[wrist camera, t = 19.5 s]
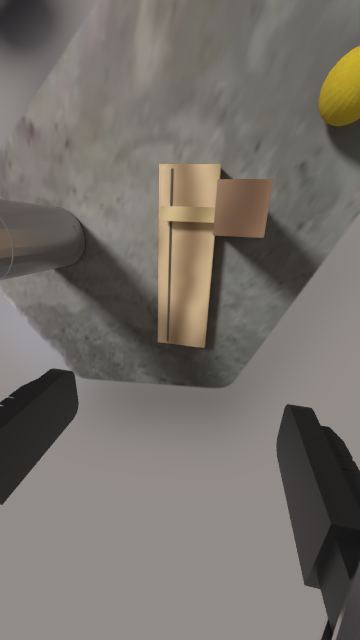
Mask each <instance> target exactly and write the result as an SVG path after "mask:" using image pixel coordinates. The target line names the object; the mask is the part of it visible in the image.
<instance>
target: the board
mask: <svg viewBox="0 0 360 640" xmlns="http://www.w3.org/2000/svg"><path fill="white" fill-rule="evenodd" d="M220 177H221V164H159V262H158V342H161V343H169V344H177V345H185V346H193V347H201V348H205V343H206V333H207V322H208V311H209V300H210V289H211V277H212V266H213V255H214V244H215V236H214V235H213V227H214V223H202V222H176V221H161V206H183V207H215V204H216V192H217V181H218V179H220Z"/></svg>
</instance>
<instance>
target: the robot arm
mask: <svg viewBox="0 0 360 640" xmlns="http://www.w3.org/2000/svg"><path fill="white" fill-rule="evenodd" d="M84 248H85V237H84V232H83V230H82V227H81V225H80V223H79V222H78V220H77V219H76V218H75V217H74V216H73V215H72V214H71V213H70V212H68V211H67V210H65V209H62V208H59V207H52V206H45V205H38V204H31V203H24V202H16V201H9V200H2V199H0V280H4V279H9V278H13V277H18V276H23V275H27V274H32V273H36V272H41V271H46V270H50V269H55V268H60V267H64V266H69V265H72V264H74V263H76V262H77V261H78V260H79V259H80V258H81V256H82V254H83V252H84ZM77 410H78V396H77V389H76V381H75V375H74V373H73V372H72V371H66V370H60V369H50V370H49V371H47V372H46V373H45V374H44V375H42V376H41V377H40V378H38V379H36V380H34V381H32V382H30V383H28V384H26V385H23V386H21V387H20V388H19V389H17V390H16V391H15V392H13V393H12V394H11V395H9V397H8V398H5V399H4V400H3V401H1V402H0V504H1V505H2V504H3V503H4V502H5V501H6V500H7V498H8V497H9V496H10V495H11V493H12V492H13V491H14V490H15V489H16V487H17V486H18V485H19V484H20V483H21V481H22V480H23V479H24V478H25V477H26V475H27V474H28V473H29V472H30V470H31V469H32V468H33V467H34V466H35V465H36V463H37V462H38V461H39V460H40V459H41V457H42V456H43V455H44V454H45V452H46V451H47V450H48V449H49V448H50V446H51V445H52V444H53V443H54V442H55V440H56V439H57V438H58V437H59V435H60V434H61V433H62V432H63V431H64V429H65V428H66V427H67V426H68V425H69V423H70V422H71V421H72V420H73V419H74V417H75V415H76V413H77ZM277 458H278V462H279V467H280V472H281V477H282V481H283V486H284V491H285V495H286V500H287V505H288V509H289V514H290V519H291V524H292V528H293V533H294V538H295V542H296V547H297V552H298V556H299V561H300V565H301V570H302V575H303V580H304V584H305V585H307V586H310V587H314V588H318V589H321V592H322V596H323V600H324V604H325V608H326V612H327V618H326V620H325V623H324V626H323V629H322V632H321V635H320V637H319V640H360V471H359V469H358V467H357V466H356V463H355V462H354V461H353V460H352V456H351V454H350V452H349V450H348V449H347V447H346V445H345V443H344V441H343V440H342V439H341V438H340V437H339V436H338V435H337V434H336V433H335V432H333V430H332V429H331V428H330V427H326V426H321V425H320V423H319V421H318V419H317V417H316V415H315V413H314V411H313V409H312V408H308V407H302V406H296V405H289V404H287V405H286V407H285V409H284V413H283V417H282V421H281V425H280V429H279V433H278V437H277Z"/></svg>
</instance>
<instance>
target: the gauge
mask: <svg viewBox="0 0 360 640" xmlns="http://www.w3.org/2000/svg"><path fill="white" fill-rule="evenodd" d="M272 184H273V180H267V179H218V181H217V192H216V204H215V207H183V206H161V221H176V222H202V223H214V227H213V235H214V236H235V237H256V238H264V234H265V228H266V221H267V215H268V209H269V203H270V196H271V190H272Z"/></svg>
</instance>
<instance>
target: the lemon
mask: <svg viewBox="0 0 360 640" xmlns="http://www.w3.org/2000/svg"><path fill="white" fill-rule="evenodd" d="M319 112H320V114H321V117H322V119H323V120H324V121H325V122H326V123H328V124H329V125H333V126H344V125H347V124H350V123H353V122H355V121H356V120H358V119H359V118H360V46H358V47H356V48H355V49H353V50H351V51H350V52H349V53H347V54H346V55H345V56H344V57H343V58H342V59H341V60H339V62H338V63H337V64H336V65H335V66H334V68H333V69H332V70H331V71H330V73H329V74H328V76H327V78H326V80H325V82H324V84H323V86H322V89H321V93H320V96H319Z"/></svg>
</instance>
